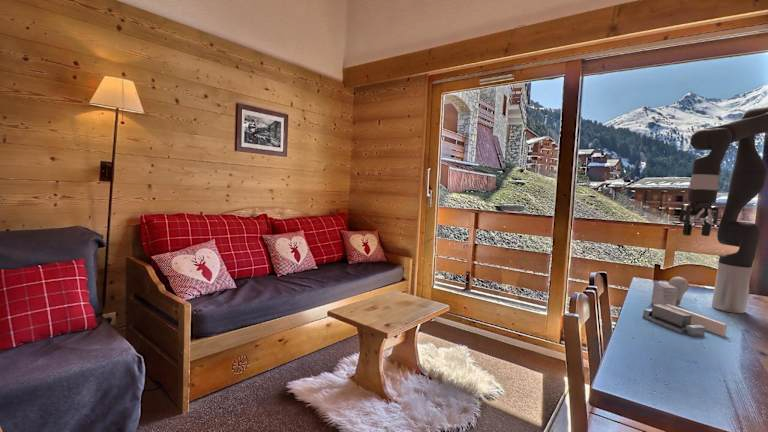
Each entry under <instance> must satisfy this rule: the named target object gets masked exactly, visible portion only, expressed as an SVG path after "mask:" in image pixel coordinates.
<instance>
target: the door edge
mask: <svg viewBox="0 0 768 432" xmlns="http://www.w3.org/2000/svg"><path fill="white" fill-rule="evenodd" d="M665 306H667V307H670V308H672V309H675V310H678V311H681V312H684V313H687V314H689V315H692V318H691V325H701V326H703V327H706V328H705V331H708V332H710V333H713V334H716V335H719V336H723V337H725V336H726V335H727V328H728V324H727V323H725V322H721V321H719V320H717V319H713V318H710V317H706V316H703V315H702V314H698V313H696V312H695V313H694V312H693V311H690V310H687V309H684V308H681V307H678V306H672V305H669V304H666V305H665Z"/></svg>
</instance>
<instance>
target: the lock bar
mask: <svg viewBox="0 0 768 432" xmlns="http://www.w3.org/2000/svg"><path fill="white" fill-rule="evenodd" d="M651 309H652V314H651V317H652V318H655V319H657V320H660V321H662V322H665V323H667V324H670V325H673V326H675V327H678V328H680V329H683V330H684V332H685V331H686V325H692V324H691V318H692V315H689V314H687V313H684V312H681V311H678V310H675V309H672V308H670V307H667V306H664V305H661V304H659V305H653V304H652V308H651Z"/></svg>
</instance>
